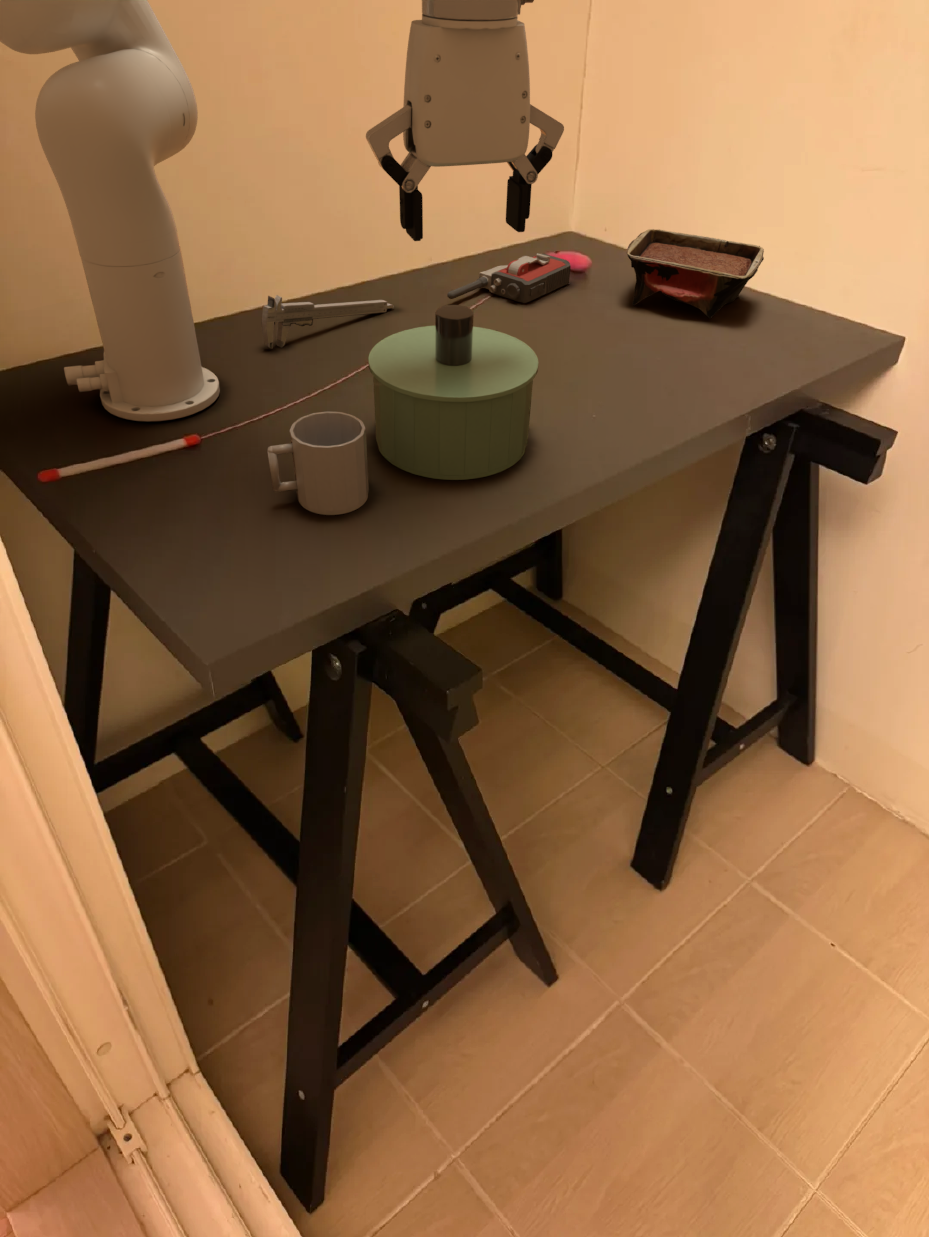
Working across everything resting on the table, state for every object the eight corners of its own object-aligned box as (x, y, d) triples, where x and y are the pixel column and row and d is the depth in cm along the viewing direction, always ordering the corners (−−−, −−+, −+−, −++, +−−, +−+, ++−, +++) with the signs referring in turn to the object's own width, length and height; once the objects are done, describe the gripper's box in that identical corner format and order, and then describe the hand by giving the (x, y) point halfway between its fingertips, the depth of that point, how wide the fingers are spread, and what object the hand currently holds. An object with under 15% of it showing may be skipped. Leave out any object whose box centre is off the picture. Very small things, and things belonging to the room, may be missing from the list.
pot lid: (393, 418, 78) (391, 357, 74) (351, 344, 90) (348, 288, 86) (564, 396, 82) (570, 337, 78) (503, 328, 94) (506, 274, 90)
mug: (359, 473, 86) (355, 407, 81) (375, 508, 81) (372, 441, 76) (269, 486, 83) (260, 419, 79) (280, 523, 79) (271, 455, 74)
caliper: (269, 352, 106) (263, 301, 102) (264, 349, 107) (258, 298, 103) (394, 309, 118) (393, 262, 114) (389, 307, 118) (387, 259, 114)
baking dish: (720, 345, 116) (751, 271, 110) (601, 297, 121) (624, 223, 114) (747, 318, 127) (777, 248, 120) (637, 274, 131) (659, 205, 125)
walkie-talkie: (528, 267, 131) (442, 304, 119) (530, 237, 129) (442, 271, 117) (576, 282, 127) (492, 321, 115) (580, 250, 125) (494, 287, 113)
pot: (399, 490, 83) (396, 409, 78) (361, 415, 94) (357, 340, 89) (549, 467, 87) (557, 388, 82) (496, 398, 98) (500, 324, 93)
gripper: (553, -5, 73) (537, 213, 84) (349, -3, 68) (361, 227, 79) (591, 5, 67) (569, 237, 78) (373, 8, 63) (383, 254, 74)
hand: (465, 232), depth 79 cm, fingers open, 9 cm apart
